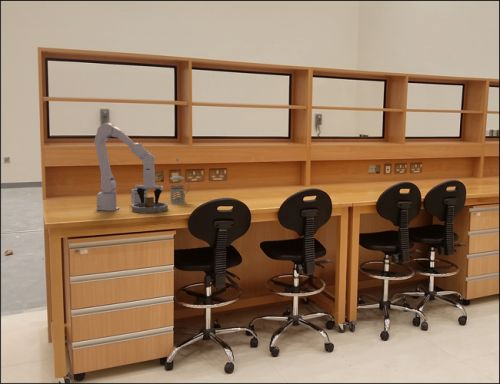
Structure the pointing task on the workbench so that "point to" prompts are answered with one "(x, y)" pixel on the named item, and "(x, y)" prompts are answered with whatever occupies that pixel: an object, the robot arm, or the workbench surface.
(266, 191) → the workbench surface
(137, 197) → the medicine box
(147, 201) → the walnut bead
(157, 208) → the round tray
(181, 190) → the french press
